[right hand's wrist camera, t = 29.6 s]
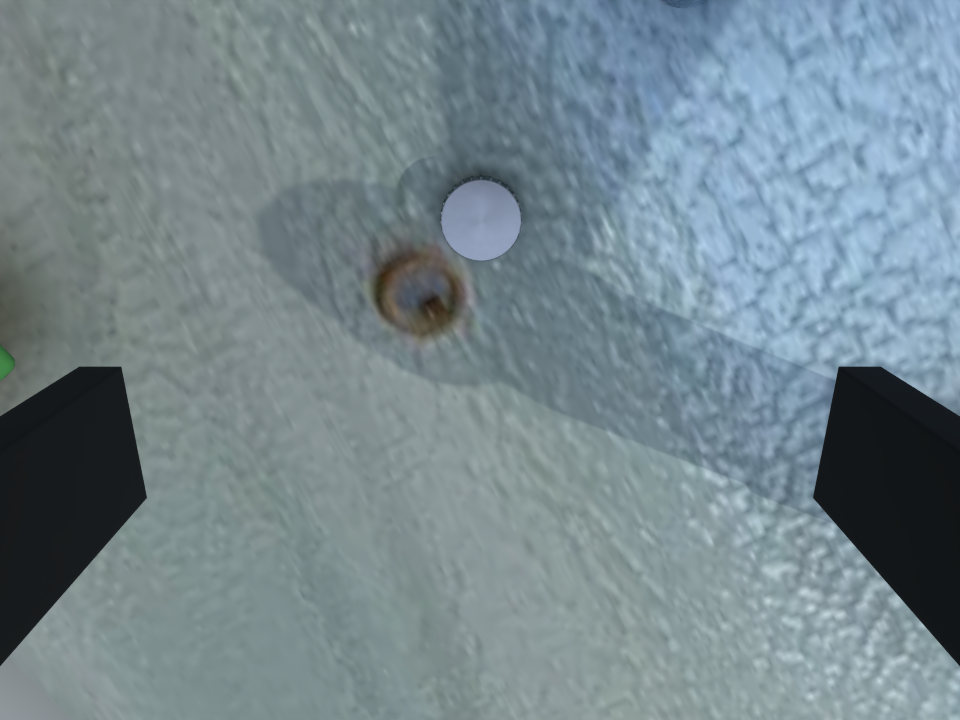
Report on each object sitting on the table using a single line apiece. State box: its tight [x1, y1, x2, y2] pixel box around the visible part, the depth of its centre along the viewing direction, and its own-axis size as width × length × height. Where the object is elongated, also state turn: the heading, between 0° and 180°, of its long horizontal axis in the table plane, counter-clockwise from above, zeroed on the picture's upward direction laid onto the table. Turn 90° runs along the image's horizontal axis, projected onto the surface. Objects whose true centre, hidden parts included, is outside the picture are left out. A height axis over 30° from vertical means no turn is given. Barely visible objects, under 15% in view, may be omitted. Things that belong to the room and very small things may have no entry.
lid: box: [440, 175, 522, 261], centre depth 40 cm, size 5×5×2 cm
